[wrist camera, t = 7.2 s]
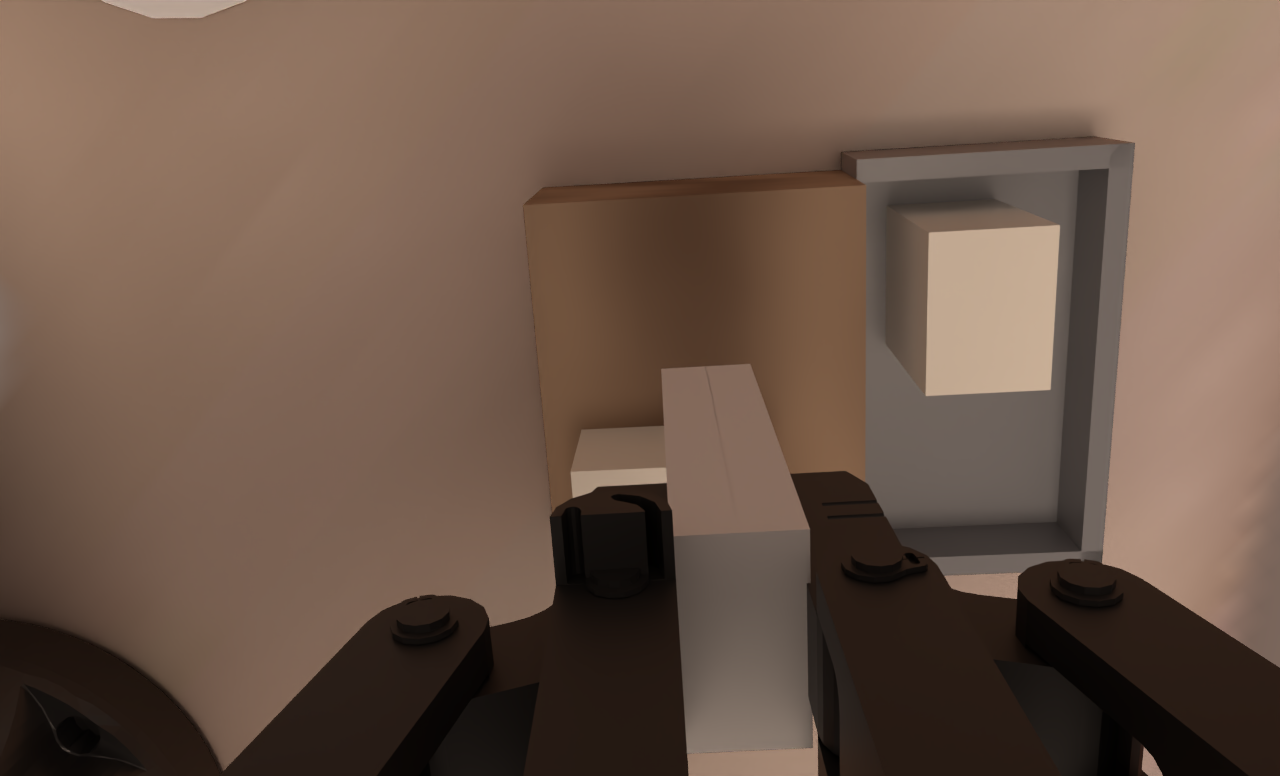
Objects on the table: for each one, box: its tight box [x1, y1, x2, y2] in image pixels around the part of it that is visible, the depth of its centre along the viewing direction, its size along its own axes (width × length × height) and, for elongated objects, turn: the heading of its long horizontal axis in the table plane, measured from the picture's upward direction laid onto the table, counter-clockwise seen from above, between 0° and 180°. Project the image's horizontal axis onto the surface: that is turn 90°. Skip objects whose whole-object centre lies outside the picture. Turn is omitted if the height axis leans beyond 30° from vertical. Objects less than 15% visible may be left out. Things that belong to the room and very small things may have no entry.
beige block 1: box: [571, 426, 667, 498], centre depth 26 cm, size 5×4×3 cm
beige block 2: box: [886, 199, 1060, 396], centre depth 27 cm, size 5×4×3 cm
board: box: [523, 170, 866, 513], centre depth 29 cm, size 8×11×4 cm
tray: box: [841, 137, 1135, 576], centre depth 29 cm, size 7×12×3 cm, turn 4°
